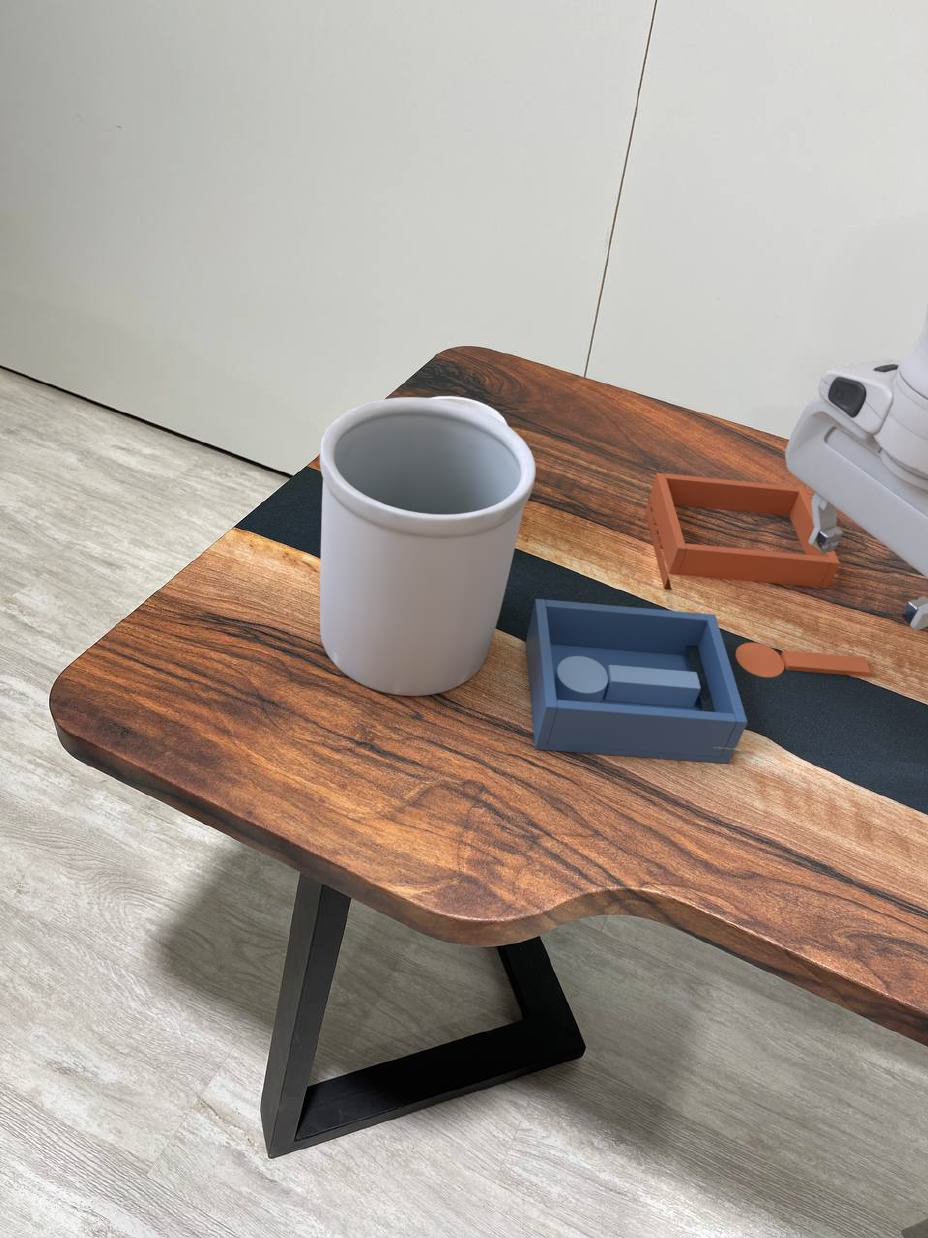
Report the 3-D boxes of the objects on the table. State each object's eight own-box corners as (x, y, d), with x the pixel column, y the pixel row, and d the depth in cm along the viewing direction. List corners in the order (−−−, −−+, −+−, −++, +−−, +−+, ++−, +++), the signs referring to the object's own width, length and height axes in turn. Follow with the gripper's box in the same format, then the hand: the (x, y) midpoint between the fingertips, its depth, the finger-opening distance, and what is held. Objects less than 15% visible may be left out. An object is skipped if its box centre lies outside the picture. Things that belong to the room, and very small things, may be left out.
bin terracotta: (788, 525, 100) (805, 487, 97) (821, 602, 91) (840, 563, 88) (644, 511, 99) (656, 472, 96) (664, 588, 90) (677, 547, 87)
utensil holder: (517, 699, 77) (561, 514, 66) (322, 711, 74) (332, 517, 62) (477, 575, 88) (509, 397, 76) (304, 580, 85) (310, 394, 73)
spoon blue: (686, 681, 80) (694, 661, 79) (695, 718, 78) (704, 699, 76) (550, 670, 79) (555, 649, 78) (554, 707, 76) (560, 686, 75)
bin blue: (699, 655, 84) (715, 614, 81) (728, 764, 75) (747, 722, 72) (525, 640, 83) (535, 598, 79) (534, 749, 74) (546, 706, 71)
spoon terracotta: (850, 666, 85) (860, 648, 84) (865, 701, 82) (876, 682, 81) (724, 656, 84) (732, 636, 83) (734, 690, 81) (743, 671, 80)
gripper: (1111, 502, 63) (1004, 661, 72) (866, 349, 75) (801, 501, 84) (1051, 523, 60) (947, 687, 69) (807, 360, 72) (745, 517, 81)
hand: (865, 583), depth 77 cm, fingers open, 8 cm apart
